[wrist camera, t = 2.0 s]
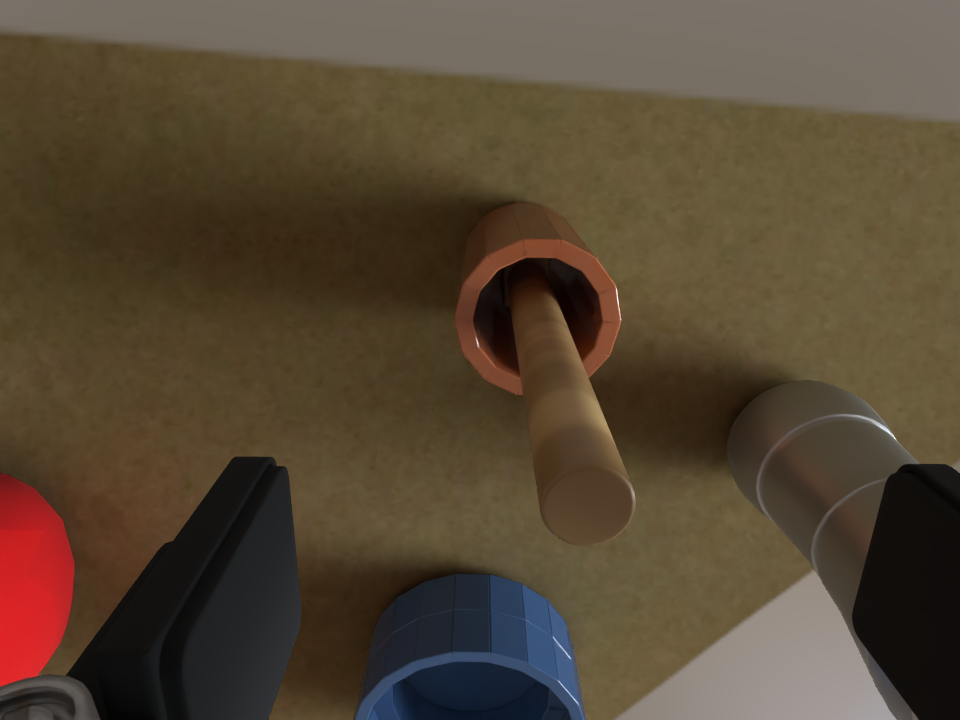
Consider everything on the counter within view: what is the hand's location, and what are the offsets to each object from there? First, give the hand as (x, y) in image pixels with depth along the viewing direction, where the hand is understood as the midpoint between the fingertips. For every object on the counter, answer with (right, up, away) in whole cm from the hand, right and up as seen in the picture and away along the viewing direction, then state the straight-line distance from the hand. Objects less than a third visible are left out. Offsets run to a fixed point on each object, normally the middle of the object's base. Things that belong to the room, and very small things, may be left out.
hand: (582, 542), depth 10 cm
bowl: (-2, -13, +27) cm, 30 cm away
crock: (0, +7, +19) cm, 20 cm away
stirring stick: (0, +7, +18) cm, 20 cm away
